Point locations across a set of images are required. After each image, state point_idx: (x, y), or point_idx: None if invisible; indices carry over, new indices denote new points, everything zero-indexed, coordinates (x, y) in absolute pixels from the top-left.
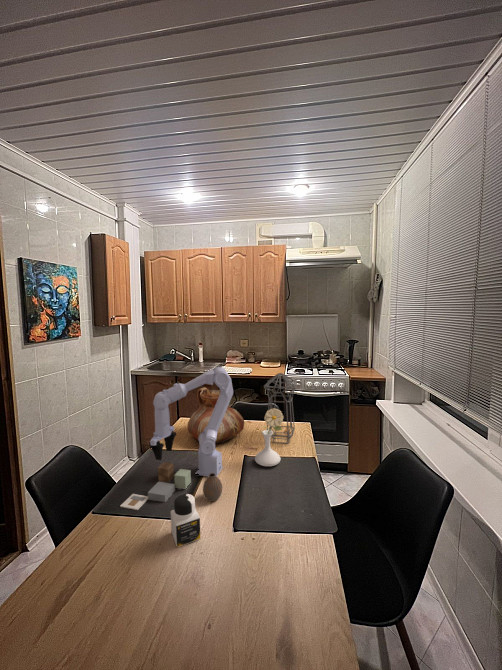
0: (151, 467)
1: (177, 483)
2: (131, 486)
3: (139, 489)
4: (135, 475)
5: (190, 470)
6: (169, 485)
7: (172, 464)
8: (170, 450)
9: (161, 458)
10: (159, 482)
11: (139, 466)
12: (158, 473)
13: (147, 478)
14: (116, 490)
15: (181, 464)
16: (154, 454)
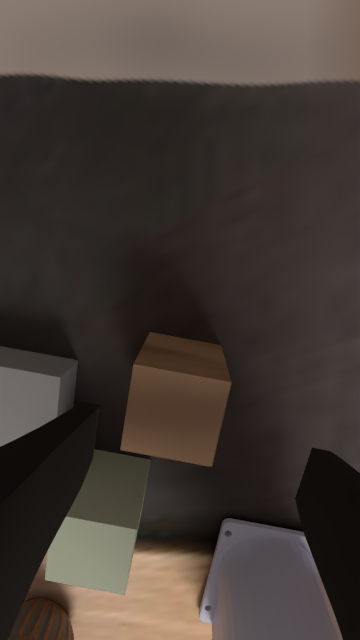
0: (322, 211)
1: None
2: (71, 173)
3: (48, 247)
4: (206, 131)
5: (124, 593)
6: None
7: (196, 461)
8: (297, 502)
9: (87, 468)
10: (50, 388)
11: (343, 95)
12: (141, 350)
13: (173, 245)
14: (11, 82)
15: (352, 413)
16: (38, 429)
